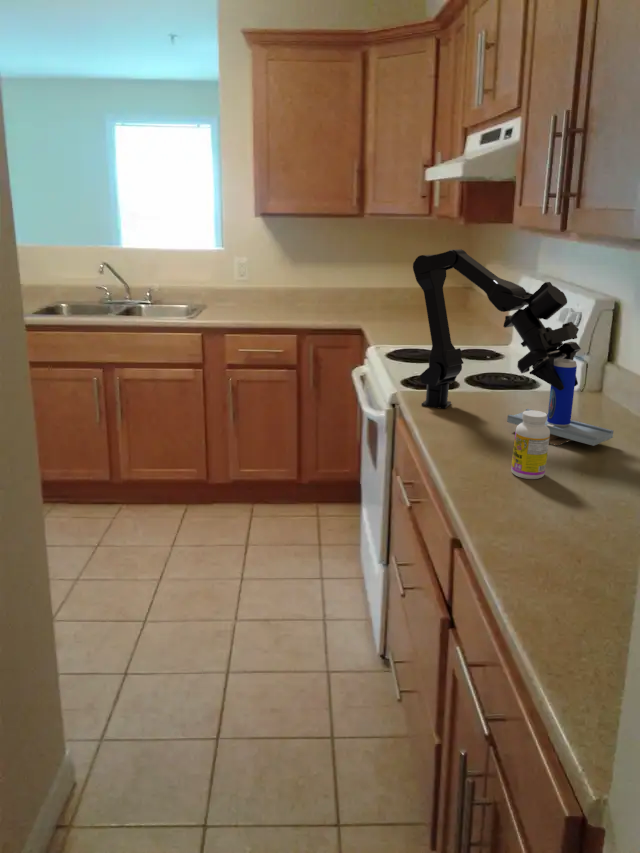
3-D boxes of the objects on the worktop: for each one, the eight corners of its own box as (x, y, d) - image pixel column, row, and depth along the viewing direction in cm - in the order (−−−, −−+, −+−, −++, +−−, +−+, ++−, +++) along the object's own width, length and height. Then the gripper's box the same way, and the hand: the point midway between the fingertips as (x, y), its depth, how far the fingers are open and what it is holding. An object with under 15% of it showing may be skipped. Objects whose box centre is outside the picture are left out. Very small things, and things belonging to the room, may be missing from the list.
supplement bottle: (507, 467, 154) (514, 408, 151) (539, 469, 154) (547, 409, 150) (514, 479, 148) (521, 417, 144) (548, 481, 148) (556, 418, 144)
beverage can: (546, 420, 177) (552, 358, 173) (568, 422, 176) (575, 359, 172) (547, 426, 172) (554, 362, 168) (571, 428, 171) (578, 363, 167)
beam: (506, 422, 179) (507, 414, 178) (527, 415, 185) (528, 408, 184) (593, 445, 164) (594, 437, 163) (612, 437, 170) (613, 429, 169)
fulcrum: (533, 439, 173) (534, 432, 173) (557, 430, 180) (558, 423, 180) (557, 445, 169) (557, 438, 169) (580, 436, 176) (581, 429, 176)
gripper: (535, 314, 163) (575, 373, 158) (578, 307, 175) (616, 362, 171) (500, 343, 170) (537, 401, 166) (544, 335, 183) (579, 388, 178)
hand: (569, 387), depth 170 cm, fingers open, 6 cm apart
